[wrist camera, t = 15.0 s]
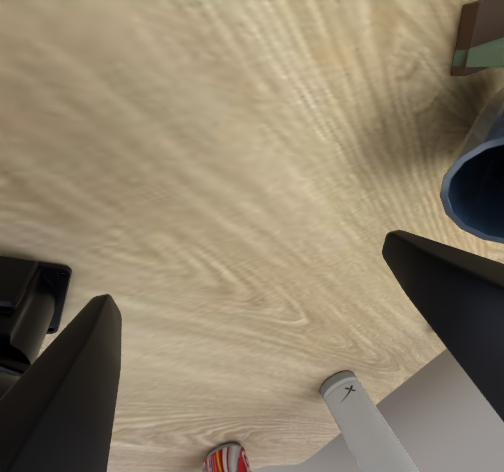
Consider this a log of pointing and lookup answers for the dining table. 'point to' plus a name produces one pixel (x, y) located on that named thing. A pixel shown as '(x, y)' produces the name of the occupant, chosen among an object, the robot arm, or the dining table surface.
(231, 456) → the soda can
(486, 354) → the robot arm
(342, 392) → the travel mug
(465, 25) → the door
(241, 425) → the dining table surface
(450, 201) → the mug
